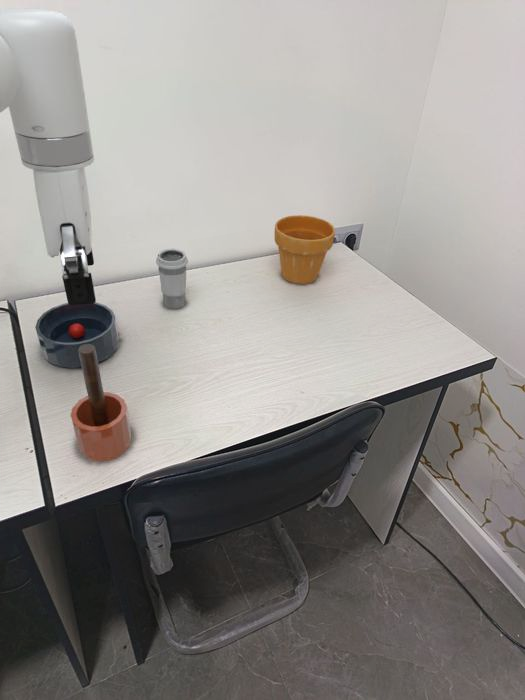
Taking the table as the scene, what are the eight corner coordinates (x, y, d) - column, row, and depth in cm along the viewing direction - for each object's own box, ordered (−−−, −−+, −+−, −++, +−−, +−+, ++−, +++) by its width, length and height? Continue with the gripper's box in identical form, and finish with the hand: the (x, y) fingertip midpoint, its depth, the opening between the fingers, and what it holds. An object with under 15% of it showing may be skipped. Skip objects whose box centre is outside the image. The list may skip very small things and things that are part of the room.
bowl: (49, 378, 89) (42, 352, 86) (36, 335, 99) (30, 310, 95) (127, 358, 95) (124, 333, 91) (108, 319, 105) (104, 295, 101)
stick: (99, 445, 77) (80, 355, 66) (95, 435, 78) (76, 346, 67) (113, 440, 78) (96, 351, 67) (109, 431, 79) (92, 342, 68)
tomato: (71, 343, 97) (69, 330, 95) (68, 334, 99) (65, 322, 97) (87, 339, 98) (85, 327, 96) (84, 331, 100) (81, 319, 98)
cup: (159, 295, 113) (155, 247, 106) (188, 294, 114) (186, 247, 107) (159, 312, 108) (155, 263, 100) (190, 311, 109) (188, 262, 101)
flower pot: (266, 262, 128) (270, 215, 120) (319, 261, 131) (325, 214, 123) (277, 291, 118) (281, 241, 110) (334, 289, 120) (342, 239, 112)
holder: (85, 468, 74) (77, 437, 70) (74, 432, 80) (66, 401, 75) (137, 450, 78) (133, 419, 73) (123, 417, 83) (118, 386, 79)
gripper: (25, 125, 59) (54, 254, 70) (10, 175, 46) (48, 324, 57) (90, 125, 61) (109, 250, 72) (93, 172, 48) (115, 317, 59)
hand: (82, 283), depth 64 cm, fingers open, 9 cm apart
